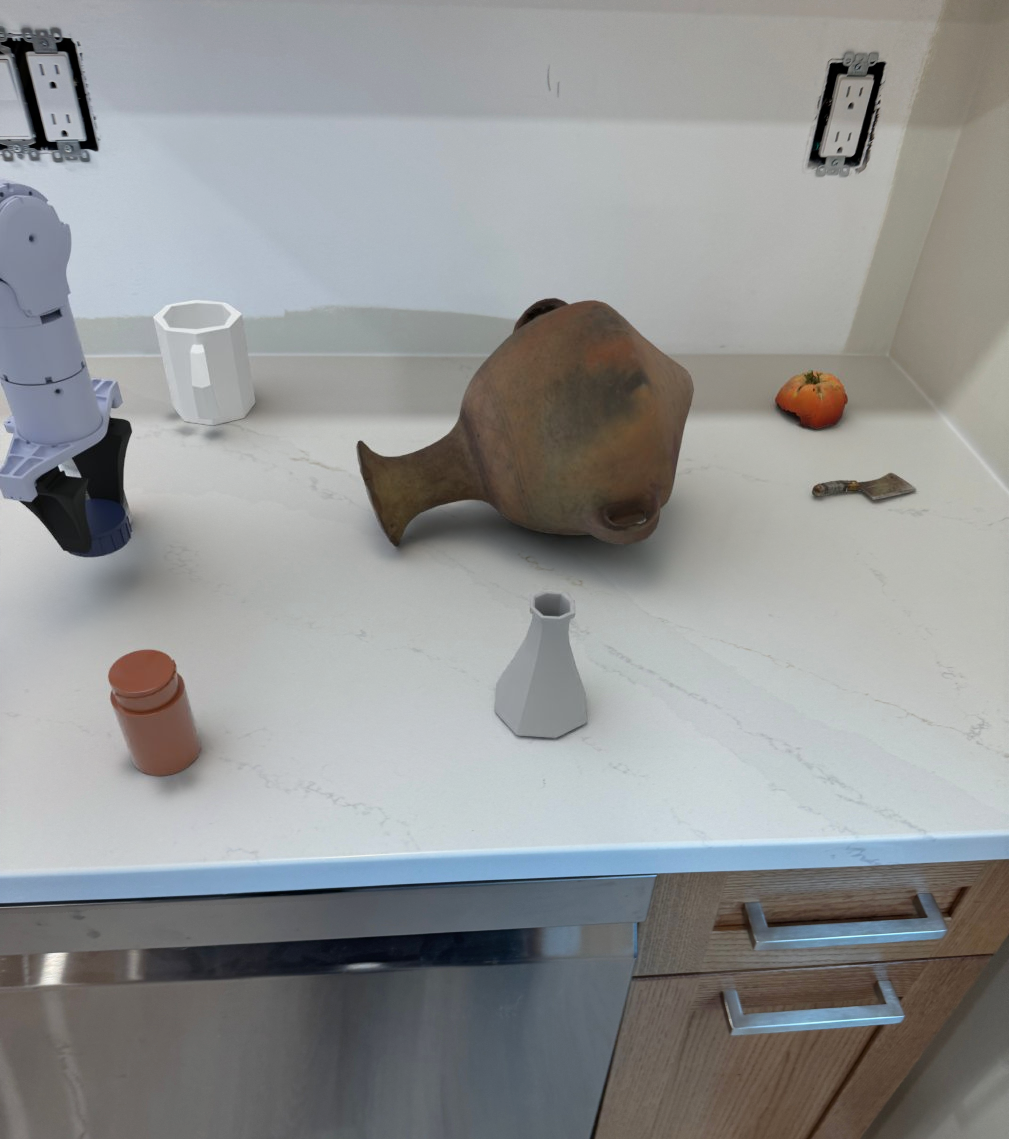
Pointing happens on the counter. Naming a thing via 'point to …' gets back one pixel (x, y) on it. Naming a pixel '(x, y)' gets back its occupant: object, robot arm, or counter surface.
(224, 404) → the mug
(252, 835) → the counter surface
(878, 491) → the meat cleaver
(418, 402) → the counter surface
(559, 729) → the flask
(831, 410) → the tomato
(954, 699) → the counter surface
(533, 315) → the jug
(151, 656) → the jar
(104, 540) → the lid
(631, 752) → the counter surface
